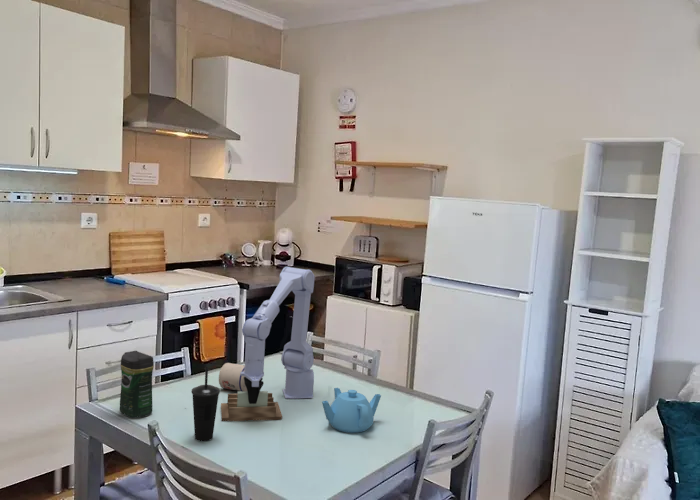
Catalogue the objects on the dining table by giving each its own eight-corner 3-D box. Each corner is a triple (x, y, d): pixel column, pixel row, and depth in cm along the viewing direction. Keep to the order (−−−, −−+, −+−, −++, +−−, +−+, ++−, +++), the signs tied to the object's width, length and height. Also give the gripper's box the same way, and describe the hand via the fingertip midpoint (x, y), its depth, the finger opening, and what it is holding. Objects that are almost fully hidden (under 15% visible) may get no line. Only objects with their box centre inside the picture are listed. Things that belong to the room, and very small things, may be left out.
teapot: (317, 429, 176) (319, 394, 175) (333, 412, 191) (335, 379, 189) (366, 439, 172) (369, 403, 171) (379, 420, 186) (382, 387, 185)
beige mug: (214, 384, 200) (245, 390, 196) (223, 358, 204) (253, 363, 200) (230, 393, 210) (259, 399, 206) (238, 368, 214) (267, 373, 210)
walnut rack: (277, 404, 193) (278, 392, 193) (282, 419, 182) (282, 407, 181) (220, 406, 189) (221, 393, 189) (221, 421, 177) (222, 408, 177)
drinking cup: (223, 435, 168) (226, 366, 166) (208, 445, 161) (211, 373, 159) (199, 429, 170) (202, 361, 168) (184, 440, 163) (186, 369, 161)
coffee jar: (156, 414, 180) (158, 354, 177) (133, 421, 173) (134, 359, 171) (138, 405, 185) (140, 347, 183) (115, 411, 179) (116, 351, 177)
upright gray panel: (266, 413, 183) (267, 391, 183) (266, 415, 182) (267, 392, 181) (236, 413, 181) (237, 391, 180) (236, 415, 180) (237, 393, 179)
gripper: (239, 351, 186) (237, 393, 187) (242, 365, 172) (240, 411, 173) (262, 351, 187) (260, 393, 189) (267, 365, 173) (264, 410, 175)
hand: (252, 402), depth 181 cm, fingers closed on upright gray panel, 2 cm apart
